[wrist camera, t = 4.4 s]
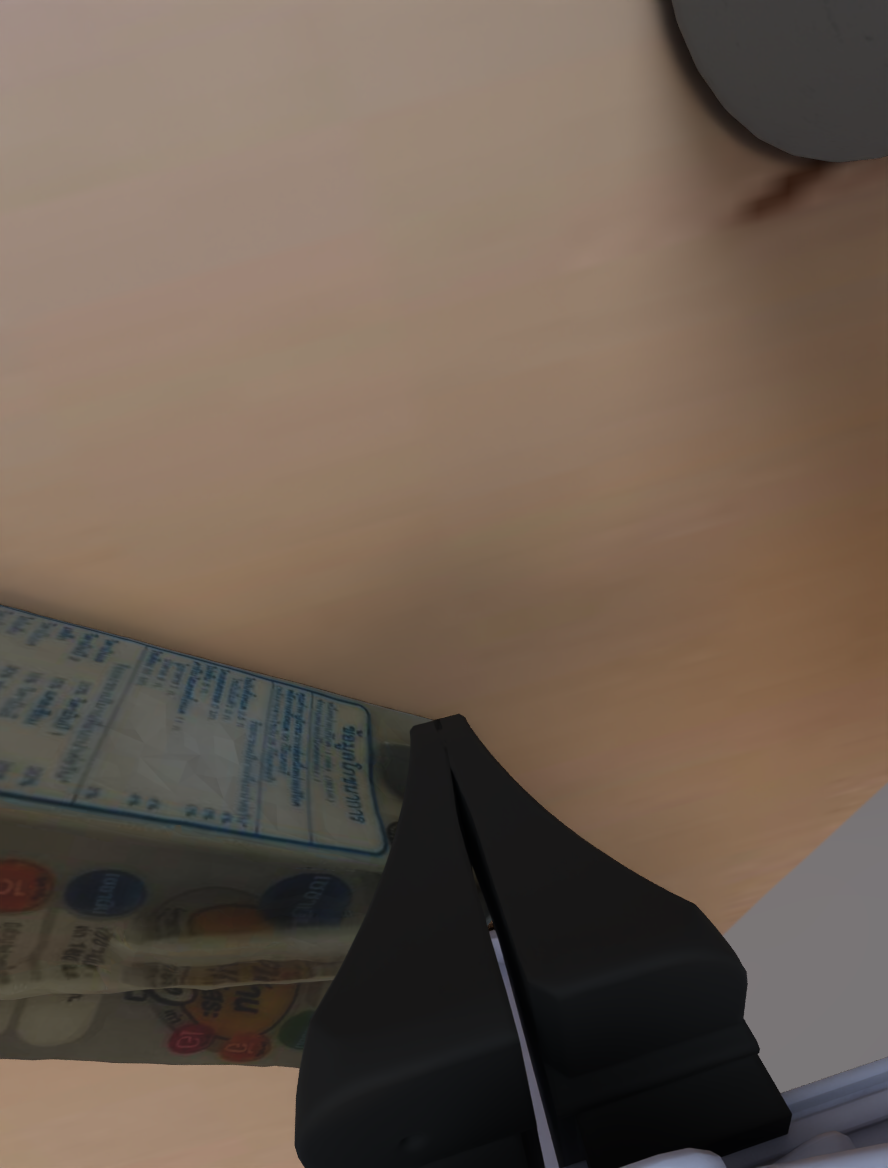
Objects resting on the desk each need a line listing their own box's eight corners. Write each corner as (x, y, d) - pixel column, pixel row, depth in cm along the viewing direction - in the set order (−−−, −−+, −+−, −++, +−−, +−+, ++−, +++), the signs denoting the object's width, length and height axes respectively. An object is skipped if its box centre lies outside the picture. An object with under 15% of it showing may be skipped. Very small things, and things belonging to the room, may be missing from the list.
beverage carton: (371, 891, 21) (389, 1120, 15) (-351, 779, 14) (-812, 1103, 9) (469, 719, 18) (537, 913, 12) (-351, 488, 12) (-1002, 666, 6)
